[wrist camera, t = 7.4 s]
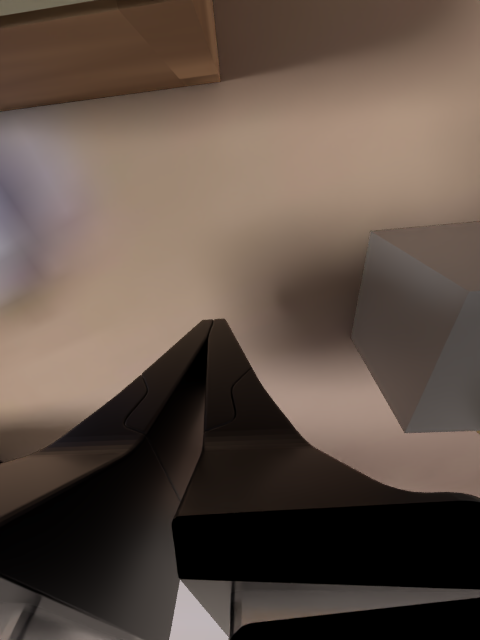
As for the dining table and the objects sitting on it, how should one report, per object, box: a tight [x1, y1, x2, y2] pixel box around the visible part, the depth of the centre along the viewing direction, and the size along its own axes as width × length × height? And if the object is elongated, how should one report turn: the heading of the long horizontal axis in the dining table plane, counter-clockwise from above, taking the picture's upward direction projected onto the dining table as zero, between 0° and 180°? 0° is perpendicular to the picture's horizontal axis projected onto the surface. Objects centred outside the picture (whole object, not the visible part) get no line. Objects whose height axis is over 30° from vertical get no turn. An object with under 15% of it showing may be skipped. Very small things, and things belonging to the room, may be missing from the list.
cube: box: [351, 221, 480, 433], centre depth 8 cm, size 5×5×5 cm
